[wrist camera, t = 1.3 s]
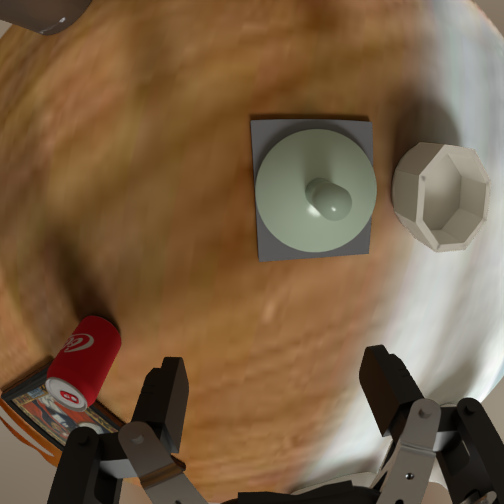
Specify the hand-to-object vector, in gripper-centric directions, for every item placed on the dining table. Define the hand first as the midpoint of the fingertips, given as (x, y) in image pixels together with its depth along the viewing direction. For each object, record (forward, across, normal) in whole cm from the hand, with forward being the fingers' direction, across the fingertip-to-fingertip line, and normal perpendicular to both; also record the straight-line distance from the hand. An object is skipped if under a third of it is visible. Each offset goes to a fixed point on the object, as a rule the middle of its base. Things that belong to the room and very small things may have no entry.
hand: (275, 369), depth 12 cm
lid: (+18, -6, -4) cm, 20 cm away
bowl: (+19, -20, -5) cm, 28 cm away
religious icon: (+20, +38, +42) cm, 60 cm away
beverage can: (+19, +20, +12) cm, 31 cm away
